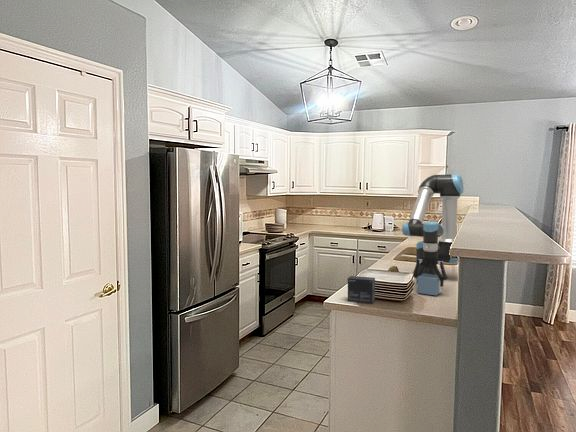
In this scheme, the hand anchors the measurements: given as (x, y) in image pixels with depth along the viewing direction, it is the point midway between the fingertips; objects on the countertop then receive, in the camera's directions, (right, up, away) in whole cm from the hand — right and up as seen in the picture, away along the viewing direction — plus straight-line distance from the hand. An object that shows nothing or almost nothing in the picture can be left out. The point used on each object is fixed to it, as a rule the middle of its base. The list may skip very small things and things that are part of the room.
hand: (429, 290), depth 229 cm
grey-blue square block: (0, -1, 0) cm, 1 cm away
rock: (-14, +1, +29) cm, 32 cm away
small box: (-39, -3, -12) cm, 41 cm away
